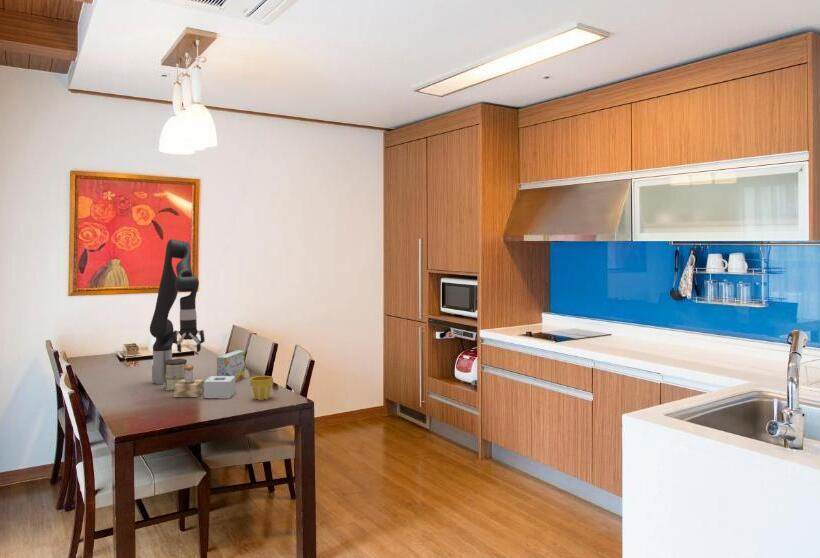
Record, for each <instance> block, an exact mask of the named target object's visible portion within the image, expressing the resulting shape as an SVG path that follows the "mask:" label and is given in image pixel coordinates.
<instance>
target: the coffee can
mask: <svg viewBox="0 0 820 558" xmlns="http://www.w3.org/2000/svg"><path fill="white" fill-rule="evenodd" d="M187 361H188V360H187V359H184V358H175V359H173V358H172V360H167V361H165V377H166V384H165V390H166V389H167V390H174V385H175V384H176V383H178V382H179V381H180V380H185V369H184V366H185V365H188V364H187ZM167 390H166V391H167Z"/></svg>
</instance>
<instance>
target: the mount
mask: <svg viewBox="0 0 820 558" xmlns="http://www.w3.org/2000/svg"><path fill="white" fill-rule="evenodd" d="M204 381H205V380H204V379H193V384H185V380H180V381H179V382H178V383H176V384H175V385H174V391H173V398H174V397H197V398H199V397H200V396H201V395H202V394H204Z"/></svg>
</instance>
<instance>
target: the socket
mask: <svg viewBox="0 0 820 558" xmlns="http://www.w3.org/2000/svg"><path fill="white" fill-rule="evenodd" d="M236 391H237V389H236V382H235V376H217V375H215V376H212V375H211V376H209V377H207V379H206V380H204V392H203V399H204V398H219V399H231V398H232V397H233V396H234V394H235V393H236ZM232 395H233V396H232ZM231 396H232V397H231ZM230 397H231V398H230Z"/></svg>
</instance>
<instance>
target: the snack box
mask: <svg viewBox="0 0 820 558" xmlns="http://www.w3.org/2000/svg"><path fill="white" fill-rule="evenodd" d="M245 352H246V351H245V350H240V349H238V350H237V349H236V350H232V351H231V352H228V353H225V354H222V355H219V356H217V357H216V376H235V381H236V382H238V381H240V380H242V379H244V378H245V377H246V376H245V374H246V373H245V366H246V363H245V356H246V355H245V354H246V353H245ZM243 377H244V378H243ZM241 378H242V379H241ZM239 379H240V380H239ZM237 380H238V381H237Z"/></svg>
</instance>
